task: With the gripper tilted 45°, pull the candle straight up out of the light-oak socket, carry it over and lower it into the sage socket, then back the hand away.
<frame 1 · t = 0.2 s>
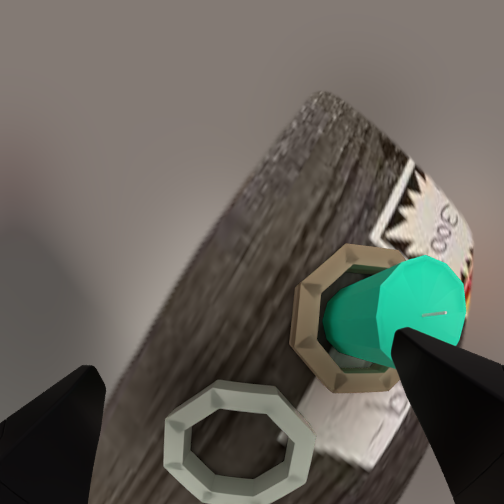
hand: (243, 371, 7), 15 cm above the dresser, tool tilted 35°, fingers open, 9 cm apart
candle: (355, 320, 22), resting in socket 1
socket 1: (356, 320, 21), on the dresser
socket 2: (239, 441, 19), on the dresser
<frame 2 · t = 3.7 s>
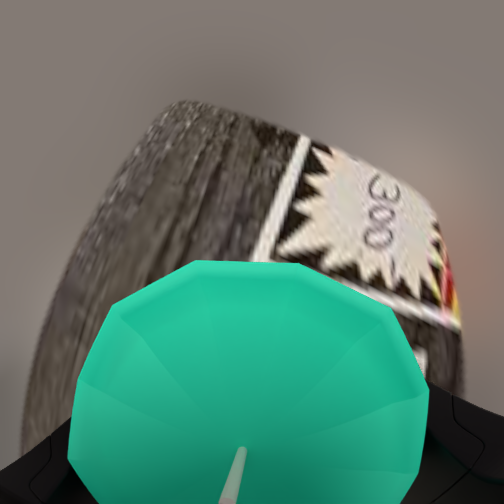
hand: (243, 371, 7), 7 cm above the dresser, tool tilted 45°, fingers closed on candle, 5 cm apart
candle: (255, 399, 13), resting in socket 1, touching gripper
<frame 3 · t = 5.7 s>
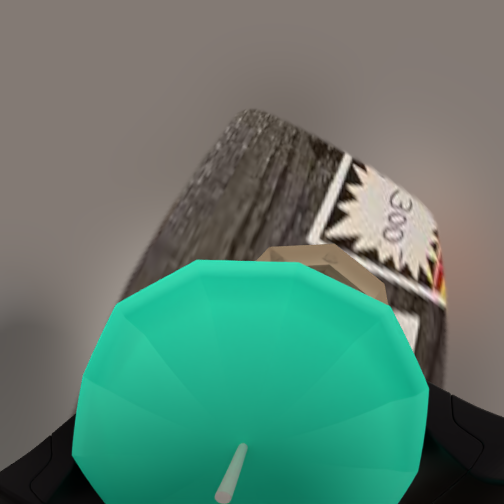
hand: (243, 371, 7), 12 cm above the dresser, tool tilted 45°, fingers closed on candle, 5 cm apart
candle: (260, 397, 13), point 6 cm above the dresser, touching gripper
socket 1: (304, 332, 19), on the dresser
when the fingers open (8 cm above the dresser, at t = 7.8 s): candle drops 1 cm, resting in socket 2.
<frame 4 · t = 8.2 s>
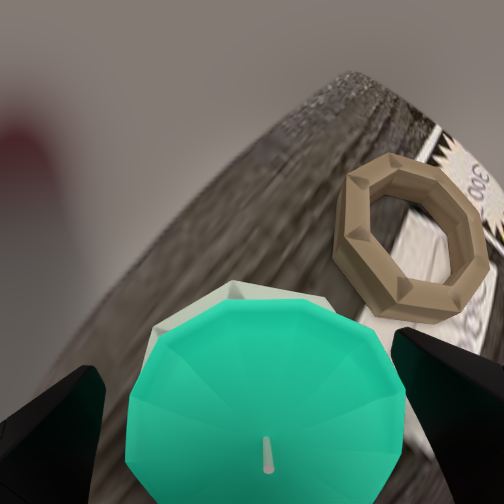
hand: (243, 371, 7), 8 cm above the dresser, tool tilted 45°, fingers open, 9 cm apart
candle: (263, 400, 14), resting in socket 2
socket 1: (407, 244, 17), on the dresser
socket 2: (255, 397, 14), on the dresser
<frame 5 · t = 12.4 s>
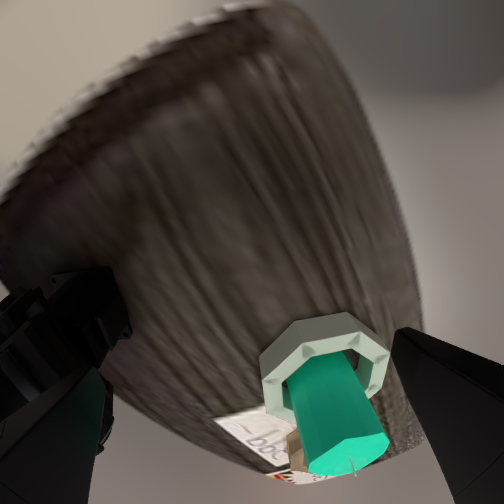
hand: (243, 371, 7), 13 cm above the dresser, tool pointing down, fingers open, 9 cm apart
candle: (315, 366, 24), resting in socket 2
socket 1: (329, 435, 28), on the dresser
socket 2: (320, 364, 24), on the dresser
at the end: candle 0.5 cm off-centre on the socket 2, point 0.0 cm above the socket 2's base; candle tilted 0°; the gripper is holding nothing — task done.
